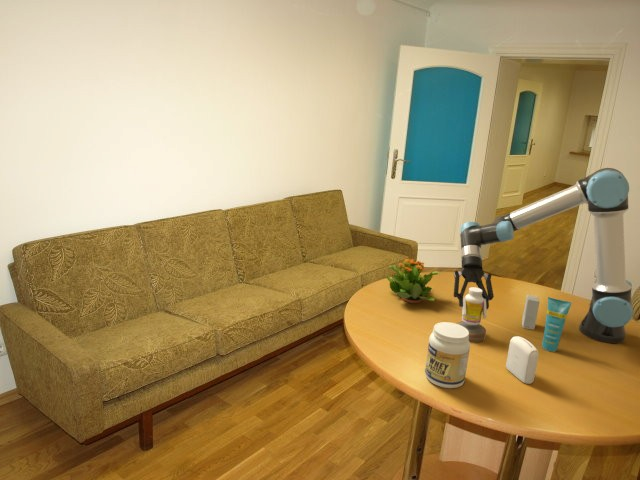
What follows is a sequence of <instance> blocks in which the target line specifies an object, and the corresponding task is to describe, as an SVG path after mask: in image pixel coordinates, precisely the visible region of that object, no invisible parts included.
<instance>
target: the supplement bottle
mask: <svg viewBox="0 0 640 480" xmlns="http://www.w3.org/2000/svg"><path fill="white" fill-rule="evenodd" d="M482 292H483V291H482V289H480V288H478V287H476V286H474V287H473V286H472V287H469V288H468V293H467V294H466V295H465V296H464V297H465V299H466V315H465V316H461V321H463V322H465V323H467V324H470V325H478V324H481V320H482V316H483V313H482V309H483V303H484V298H483V297H482Z"/></svg>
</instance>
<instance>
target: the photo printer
mask: <svg viewBox="0 0 640 480" xmlns="http://www.w3.org/2000/svg"><path fill="white" fill-rule="evenodd" d="M538 360H539V351H538V349H537V348H536V346H535V345H534V344H533V343H532V342H530V341H529V340H527V339H526V338H524V337H522V336H518V335H516V336H513V337H511V339H510V341H509V346H508V352H507V356H506V364H505V368H506V369H507V370H508V371H509V373H511V374H512V375H513V376H515V377H516V378H517V379H518V380H520V381H521V382H522V383H525V384H526V385H527V384H528V385H529V384H530V385H531V384H532V383H533V382H534V381H535V378H536V371H537V367H538Z"/></svg>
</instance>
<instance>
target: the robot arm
mask: <svg viewBox="0 0 640 480" xmlns="http://www.w3.org/2000/svg"><path fill="white" fill-rule="evenodd" d="M629 193H630V183H629V182H628V179H627V178H626V176H625V175H624V174H623V172H621V171H620V170H618V169H616V168H613V167H603V168H601V169H597V170H596V171H594V172H593V173H591V174H589V175H587V176H585V177H583V178H581V179H578V180H577V181H576V183H575V185H574V184H573V185H572V186H570V187H567V188H565V189H563V190H560V191H558V192H555V193H553V194H551V195H548V196H546V197H543V198H542V199H539V200H537V201H535V202H532V203H529V204H527V205H525V206H522V207H520V208H518V209H516V210H514V211H511V212H509V213H507V214H503V215H499V216H497V217H496V218H495V219H494V220H493V221H492V223H489V224H484V225H480V224H479V222H477V221H467V222H464V223H462V224H461V226H460V233H459V236H460V248H461V249H460V251H461V252H460V253H461V254H460V256H461V271H458V270H455V271H454V274H453V277H454V286H453V287H454V289H453V297H454V298H457V299H458V305H459V307H460V308H461V313H462V316H465V315H466V299H465V296H464V295H465V293H466V290H467V287H468V284H469V283H474V284H475V285H476V286H477V288H480V289H482V291H483V292H482V295H481V296H482V297H483V298H484V303H483V309H482V319H486V318H487V317H488V312H487V310H488V309H489V308H490V303H489V301H492V300H493V299H494V297H495V296H494V292H493V291H494V290H493V285H492V280H491V279H492V274H491V273H485V272H484V269H483V259H482V258H483V256H482V255H483V254H482V246H486V245H490V244H497V243H502V242H503V243H504V242H507V241H511V240H513V239H514V238H515V236H514V235H515V233H514V232H517V231H518V230H520V229H523V228H526V227H528V226H530V225H533V224H536V223H538V222H541V221H543V220H546V219H548V218H551V217H554V216H556V215H558V214H561V213H564V212H566V211H569V210H571V209H574V208H576V207H578V206H581V205H583V204H586V205H587V207H588V208H587V209H588V211H587V212H588V213H590V214H591V215H592V216H593V225H594V226H593V230H594V250H595V251H594V252H595V275H596V277H595V281H594V283H593V284H592V286H591V289H592V290H591V291H592V295H591V300H590V304H589V308H588V312H587V313H586V314H585V316H584V318H583V319H582V320H581V322H580V325H579V331H580V332H581V333H582V334H583V335H585V336H586V337H588V338H591V339H593V340H596V341H598V342H603V343H610V344H620V343H622V342H625V339H626V328H625V327H626V326H625V325H627V324H628V323H630V321H631V320H632V318H633V315H634V308H633V302H632V299H633V298H632V291H633V288H632V287H633V284H632V282H631V281H629V280H627V279H626V255H625V251H626V250H625V230H624V229H625V228H624V227H625V226H624V224H625V223H624V214H625V213H626V212H627V211H628V210H629ZM461 276H462V277H463V279H464V280H463V281H464V282H463V284H462V286H461V289H460V292H459V287H460V277H461ZM483 277H484V278H483ZM482 278H483V279H484V280H485V285H484V283H483V279H482ZM485 286H486V288H485ZM462 316H461V317H462Z"/></svg>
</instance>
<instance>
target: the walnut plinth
mask: <svg viewBox="0 0 640 480" xmlns="http://www.w3.org/2000/svg"><path fill="white" fill-rule="evenodd" d="M455 324H459V325H461V326H463V327H465V328H466V329H467V330H468V331H469V339H468V340H469V342H470V343H481V342H483V341H485V339H486V333H487V329H486V327H485V326H484V325H482V324H481V323H479V324H478V325H470V324H467V323H465V322H463V320H461V321H458V322H456V323H455Z"/></svg>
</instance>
